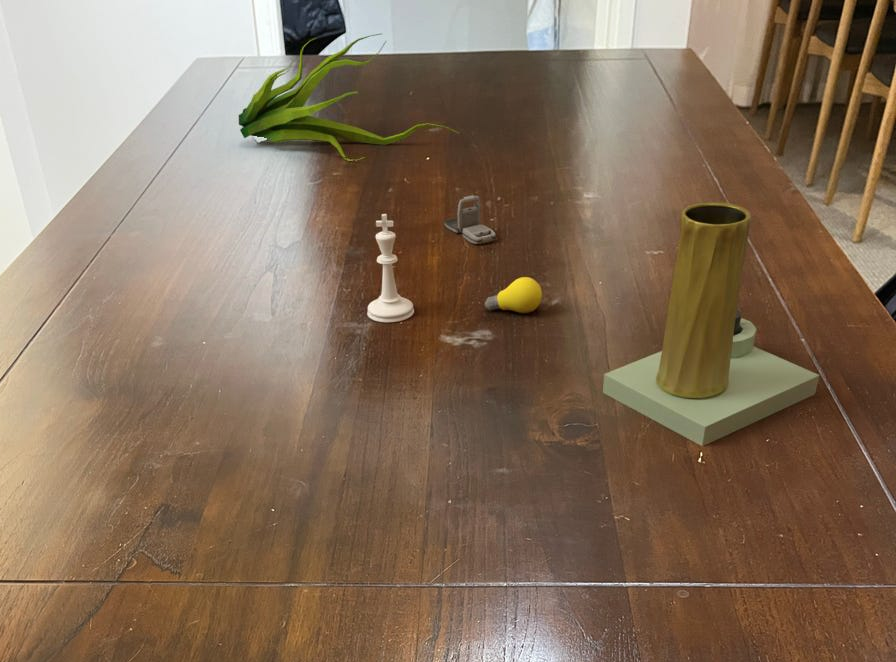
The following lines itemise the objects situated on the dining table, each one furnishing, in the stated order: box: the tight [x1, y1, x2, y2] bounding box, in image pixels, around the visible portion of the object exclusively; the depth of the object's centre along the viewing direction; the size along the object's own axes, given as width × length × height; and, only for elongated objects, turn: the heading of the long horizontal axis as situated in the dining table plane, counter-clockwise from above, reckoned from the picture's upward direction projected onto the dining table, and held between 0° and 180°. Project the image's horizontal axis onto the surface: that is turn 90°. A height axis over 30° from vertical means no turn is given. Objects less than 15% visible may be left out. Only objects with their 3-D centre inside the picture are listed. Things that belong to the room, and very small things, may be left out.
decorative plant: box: [238, 33, 460, 162], centre depth 146 cm, size 18×30×15 cm, turn 49°
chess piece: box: [366, 213, 415, 323], centre depth 102 cm, size 5×5×10 cm
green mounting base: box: [602, 317, 820, 447], centre depth 88 cm, size 15×12×4 cm
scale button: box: [733, 309, 743, 336], centre depth 91 cm, size 3×3×2 cm
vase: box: [656, 201, 752, 399], centre depth 82 cm, size 6×6×14 cm
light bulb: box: [484, 276, 543, 314], centre depth 104 cm, size 3×6×4 cm, turn 84°
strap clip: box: [443, 194, 497, 245], centre depth 120 cm, size 8×3×4 cm, turn 27°
